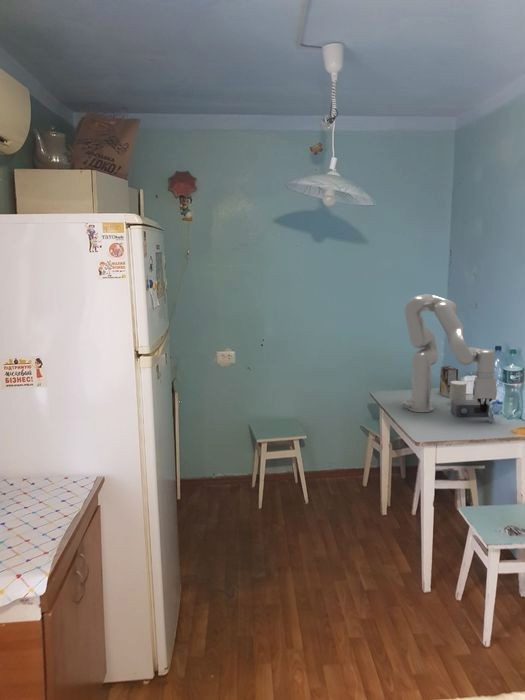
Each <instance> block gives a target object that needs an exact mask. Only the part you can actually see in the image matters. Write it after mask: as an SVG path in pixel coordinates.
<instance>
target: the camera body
mask: <svg viewBox="0 0 525 700" xmlns="http://www.w3.org/2000/svg"><path fill="white" fill-rule="evenodd" d="M484 400H485V399H483V401H484ZM450 412H451V413H452V414H453V415H454V416H455V417H484V416H487V417H490V404H488V408H487V411H486V412H482V411H481V410H480V402H479V401H476V400H473V399H466V400H451V405H450Z"/></svg>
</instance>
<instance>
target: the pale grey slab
mask: <svg viewBox="0 0 525 700" xmlns="http://www.w3.org/2000/svg"><path fill="white" fill-rule="evenodd" d="M492 419H494V413H493V404H492V403H491V404H489V423H492Z"/></svg>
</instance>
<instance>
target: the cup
mask: <svg viewBox="0 0 525 700" xmlns="http://www.w3.org/2000/svg"><path fill="white" fill-rule="evenodd" d="M466 397H467V382H466V381H462V380H458V381H451V383H450V397H449V405H450V406H451V400H467V399H466Z"/></svg>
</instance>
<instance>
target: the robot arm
mask: <svg viewBox="0 0 525 700" xmlns="http://www.w3.org/2000/svg"><path fill="white" fill-rule="evenodd" d="M427 311H429V312H432V313H433V314H434V315H435V317H436V318H437V320H438V322H439V323H440V325H441V326H442V329H443V331H444V332H445V334H446V337H447V340H448V345H449V347H450V350H451V352H452V353H453V355H454V357H455V358H456V360H457V361H458V363H459V364H461V365H463V366H469V365H471V364H474V363H477V364H476V371H475V372H473V376H475V378H474V381H473V385H472V386H473V387H472V400H476V401H479V402H480V410H481V411H482V412H486V411H487V408H488V404H489V403H491V401H495V400H496V399H497V397H498V393H497V391H498V389H497V379H496V377H494V376H495V351H494V350H493V349H489V348H479V347H473V346H471V347H468V346H467V343H466V342H465V339H464V335H463V333H464V326H463V324H462V323H461V320H460V319H459V317H458V316H457V314H456V311H457V305H456V303H455V302H454V301H452V300H450V299H447V298H444V297H441V296H437V295H433V294H430V293H425V294H419V295H415V296H413V297H412V298H410V299H409V300H408V301H407V303H406V304H405V306H404V317H405V322H406V328H407V333H408V338H409V342H410V345H411V347H413V348H416V349H418V350H417V351H416V352H415V353H413V355H412V357H411V371H412V374H411V377H412V378H411V398H410V399H409V400H407V401H405V400H404V401H402V400H401V405H402V406H406V407H407V409H408V410H409V411H412V412H415V413H431V412H433V411H434V408H433V406H432V405H431V394H432V393H431V391H432V370H431V367H432V366H433V365H435V364H436V363H437V361H438V359H439V354H438V353H439V352H438V348H437V342H436V338H435V335H434V333H433V331H432V330H431V329H430V328H427V327H425V323H424V318H423V317H422V316H423V315H422V313H423V312H427ZM483 400H484V401H483ZM489 405H490V404H489Z"/></svg>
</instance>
